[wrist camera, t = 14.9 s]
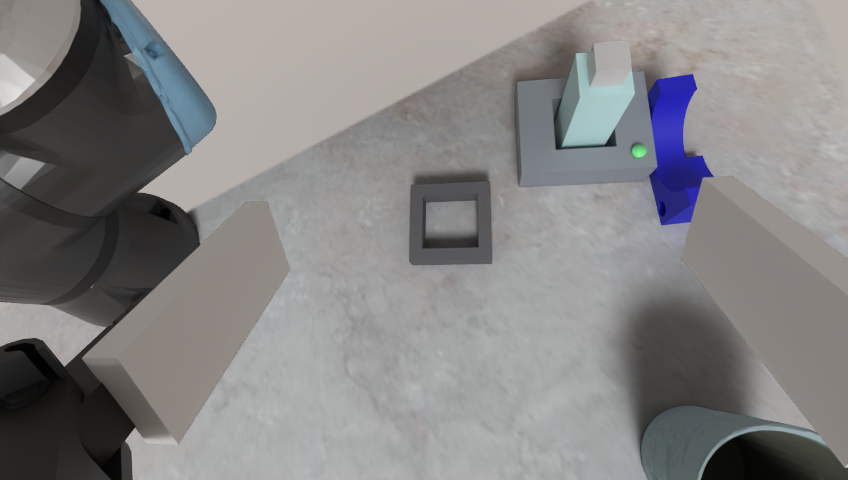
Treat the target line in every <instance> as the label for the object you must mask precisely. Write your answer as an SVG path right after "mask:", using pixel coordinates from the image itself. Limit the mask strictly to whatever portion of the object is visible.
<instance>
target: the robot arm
mask: <svg viewBox="0 0 848 480" xmlns="http://www.w3.org/2000/svg"><path fill="white" fill-rule="evenodd" d="M215 124H216V111H215V108H214V106H213V105H212V103H211V101H210V100H209V98H208V97H207V95H206V94H205V93H204V91H203V90H202V89H201V87H200V86H199V85H198V83H197V82H196V81H195V79H194V78H193V77H192V75H191V74H190V73H189V71H188V70H187V69H186V68H185V66H184V65H183V64H182V62H181V61H180V60H179V59H178V57H177V56H176V55H175V53H174V52H173V51H172V50H171V49H170V47H169V46H168V45H167V44H166V42H165V41H164V40H163V39H162V37H161V36H160V35H159V34H158V32H157V31H156V30H155V29H154V27H153V26H152V25H151V24H150V23H149V21H148V20H147V19H146V18H145V17H144V15H143V14H142V13H141V12H140V10H139V9H138V8H137V7H136V6H135V5H134V4H133V2H132V1H131V0H0V302H10V303H25V304H40V305H50V306H52V307H55V308H57V309H59V310H61V311H64V312H66V313H68V314H70V315H73V316H75V317H77V318H80V319H82V320H84V321H86V322H89V323H91V324H94V325H98V326H102V327H107V328H106V329H105V330H104V331H102V332H101V333H100V334H99V335H98V336H97V337H96V338H95V339H94V340H93V341H92V342H91V343H90V344H89V345H87V346H86V347H85V348H84V349H83V350H82V351H81V352H80V353H79V354H78V355H77V356H76V357H75V358H74V359H72V360H71V361H70V362H69V363H68V364H67V365H66V366H65V367H64V366H63V365H62V364H61V362H60V361H59V360H58V359H57V357H56V356H55V355H54V354H53V353H52V351H51V350H50V349H49V348H48V346H47V345H46V344H45V343H44V342H43V341H42V340H39V339H36V338H30V339H22V340H18V341H15V342H12V343H8V344H6V345H3V346H1V347H0V480H133V478H132V457H131V450H130V448H129V445H128V444H127V443H126V442H125V440H126V438H127V437H128V436H129V435H130V433H131V432H132V431H133V429H134V428H136V429H137V431H138V432H139V433H140V434H141V436H142V437H143V438H144V440H145V441H146V442H147V443H148V444H174V445H179V443H180V441H181V440H182V438H183V437H184V435H185V434H186V432H187V430H188V429H189V427H190V426H191V424H192V423H193V421H194V419H195V418H196V416H197V415H198V413H199V412H200V410H201V409H202V407H203V405H204V404H205V402H206V401H207V399H208V398H209V396H210V394H211V393H212V391H213V390H214V388H215V387H216V385H217V384H218V382H219V380H220V379H221V377H222V376H223V374H224V373H225V371H226V369H227V368H228V366H229V365H230V363H231V362H232V360H233V359H234V357H235V355H236V354H237V352H238V351H239V349H240V348H241V346H242V344H243V343H244V341H245V340H246V338H247V337H248V335H249V334H250V332H251V330H252V329H253V327H254V326H255V324H256V323H257V321H258V319H259V318H260V316H261V315H262V313H263V312H264V310H265V309H266V307H267V305H268V304H269V302H270V301H271V299H272V298H273V296H274V294H275V293H276V291H277V290H278V288H279V287H280V285H281V284H282V282H283V280H284V279H285V277H286V276H287V274H288V273H289V271H290V267H289V264H288V261H287V258H286V255H285V252H284V249H283V247H282V244H281V241H280V238H279V235H278V232H277V229H276V226H275V223H274V220H273V217H272V214H271V211H270V208H269V205H268V202H267V201H261V202H245V203H244V204H243V205H242V206H241V207H240V208H239V209H238V210H237V211H236V212H235V213H234V214H233V215H232V216H230V217H229V218H228V219H227V220H226V221H225V222H224V223H223V224H222V225H221V226H220V227H219V228H218V229H217V230H216V231H215V232H214V233H213V234H212V235H210V236H209V237H208V238H207V239H206V240H205V241H204V242H203V243H202V244H201V245H200V246H199V244H198V237H197V232H196V229H195V227H194V224H193V222H192V221H191V219H190V217H189V216H188V215H187V214H186V212H185V211H184V210H182V209H181V208H180V207H178V206H177V205H175V204H174V203H171V202H169V201H167V200H165V199H162V198H160V197H158V196H155V195H151V194H146V193H137V192H138V191H139V190H140V189H142V188H143V187H144V186H146V185H147V184H148V183H150V182H151V181H152V180H154V179H155V178H156V177H158V176H159V175H160V174H161V173H163V172H164V171H165V170H167V169H168V168H169V167H171V166H172V165H173V164H175V163H176V162H177V161H179V160H180V159H181V158H183V157H184V156H185V155H188V154H190V153H191V151H192V148H193V147H194V146H195V145H196V144H197V143H199V142H200V141H201V140H202V139H203V138H204V137H205V136H206V135H207V134H209V133H210V131H212V130H213V128H214V126H215ZM681 259H682V260H683V262H684V263H685V264H686V265H687V267H688V268H689V269H690V271H691V272H692V273H693V274H694V276H695V277H696V278H697V280H698V281H699V282H700V283H701V285H702V286H703V287H704V288H705V290H706V291H707V292H708V294H709V295H710V296H711V297H712V299H713V300H714V301H715V303H716V304H717V305H718V306H719V308H720V309H721V310H722V311H723V313H724V314H725V315H726V317H727V318H728V319H729V320H730V322H731V323H732V324H733V326H734V327H735V328H736V329H737V331H738V332H739V333H740V334H741V336H742V337H743V338H744V340H745V341H746V342H747V343H748V345H749V346H750V347H751V349H752V350H753V351H754V352H755V354H756V355H757V356H758V357H759V359H760V360H761V361H762V363H763V364H764V365H765V366H766V368H767V369H768V370H769V372H770V373H771V374H772V375H773V377H774V378H775V379H776V380H777V382H778V383H779V384H780V386H781V387H782V388H783V389H784V391H785V392H786V393H787V395H788V396H789V397H790V398H791V400H792V401H793V402H794V403H795V405H796V406H797V407H798V409H799V410H800V411H801V412H802V414H803V415H804V416H805V418H806V419H807V420H808V421H809V423H810V424H811V425H812V426H813V428H814V429H815V430H816V432H817V433H818V434H819V435H820V437H821V438H822V439H823V441H824V442H825V443H826V444H827V446H828V447H829V448H830V449H831V451H832V452H833V453H834V455H835V456H836V457H837V458H838V460H839V461H840V462H841V464H842V465H843V466H844V467H845V468H848V258H847V257H845V256H844V255H843V254H841V253H840V252H838V251H837V250H836V249H834V248H833V247H831V246H830V245H829V244H827V243H826V242H824V241H823V240H822V239H820V238H819V237H817V236H816V235H815V234H813V233H812V232H810V231H809V230H808V229H806V228H805V227H803V226H802V225H801V224H799V223H798V222H796V221H795V220H794V219H792V218H791V217H789V216H788V215H787V214H785V213H784V212H782V211H781V210H780V209H778V208H777V207H775V206H774V205H773V204H771V203H770V202H768V201H767V200H766V199H764V198H763V197H761V196H760V195H758V194H757V193H756V192H754V191H753V190H751V189H750V188H749V187H747V186H746V185H744V184H743V183H742V182H740V181H739V180H737V179H736V178H735V177H733V176H723V177H704V178H703V179H702V182H701V186H700V190H699V194H698V197H697V201H696V205H695V208H694V212H693V216H692V219H691V223H690V227H689V230H688V234H687V238H686V241H685V245H684V249H683V252H682V256H681Z"/></svg>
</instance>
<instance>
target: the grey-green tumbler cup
mask: <svg viewBox="0 0 848 480" xmlns="http://www.w3.org/2000/svg"><path fill="white" fill-rule="evenodd" d="M641 457H642V463H643V468H644V471H645V473H646V476H647V479H648V480H848V468H845V467H844V466H843V465H842V464H841V462H840V461H839V460H838V458H837V457H836V456H835V455H834V453H833V452H832V451H831V449H830V448H829V447H828V446H827V444H826V443H825V442H824V441H823V439H822V438H821V437H820V435H819V434H818V433H817V432H814V431H812V430H809V429H805V428H801V427H797V426H792V425H788V424H784V423H779V422H774V421H768V420H763V419H759V418H754V417H750V416H744V415H739V414H732V413H729V412H724V411H717V410H711V409H707V408H703V407H698V406H689V405H686V406H677V407H673V408H670V409H668V410H666V411H664V412H662V413H661V414H659V415H658V416H656V417H655V418H654V419H653V420H652V422H651V423H650V424H649V426H648V427H647V429H646V431H645V434H644V436H643V440H642V446H641Z"/></svg>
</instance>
